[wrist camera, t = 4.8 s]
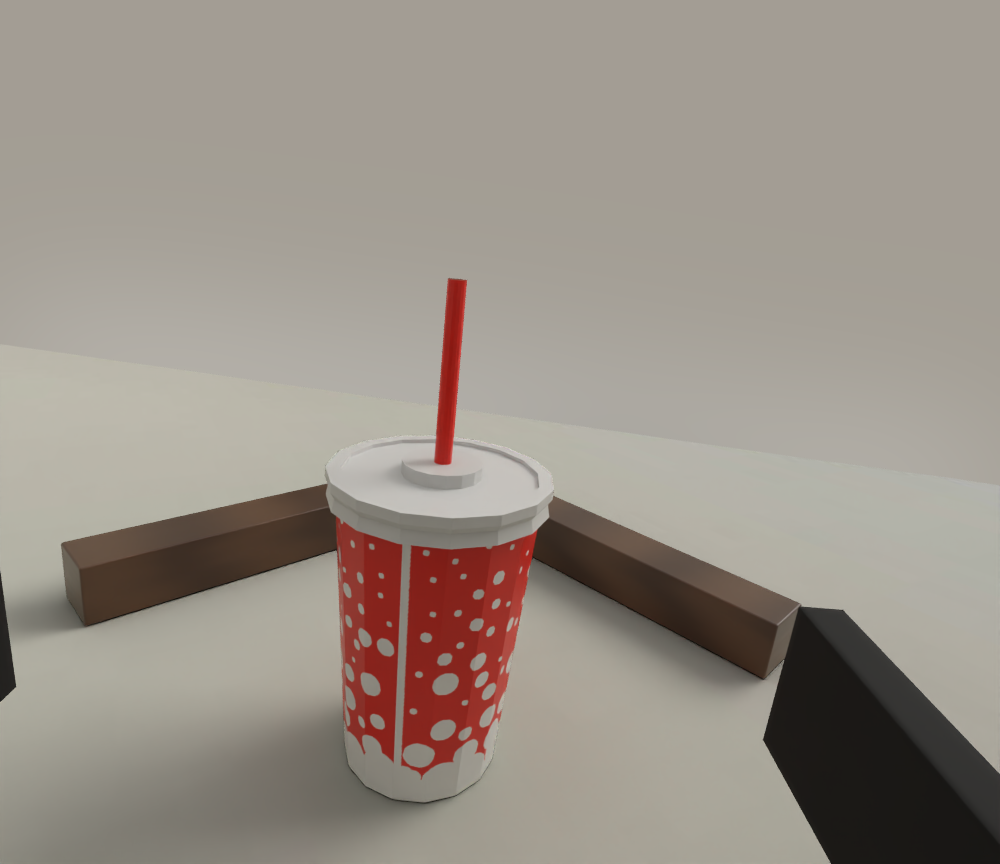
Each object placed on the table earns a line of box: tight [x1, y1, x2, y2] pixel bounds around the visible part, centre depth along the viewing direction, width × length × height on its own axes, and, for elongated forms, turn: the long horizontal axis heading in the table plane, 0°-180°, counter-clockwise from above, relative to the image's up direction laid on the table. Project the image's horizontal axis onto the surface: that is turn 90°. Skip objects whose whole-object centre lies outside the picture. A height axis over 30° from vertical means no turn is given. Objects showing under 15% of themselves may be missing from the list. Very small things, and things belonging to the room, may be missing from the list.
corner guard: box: [61, 484, 801, 679], centre depth 31 cm, size 16×29×2 cm, turn 91°
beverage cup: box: [325, 278, 554, 803], centre depth 18 cm, size 6×6×14 cm
